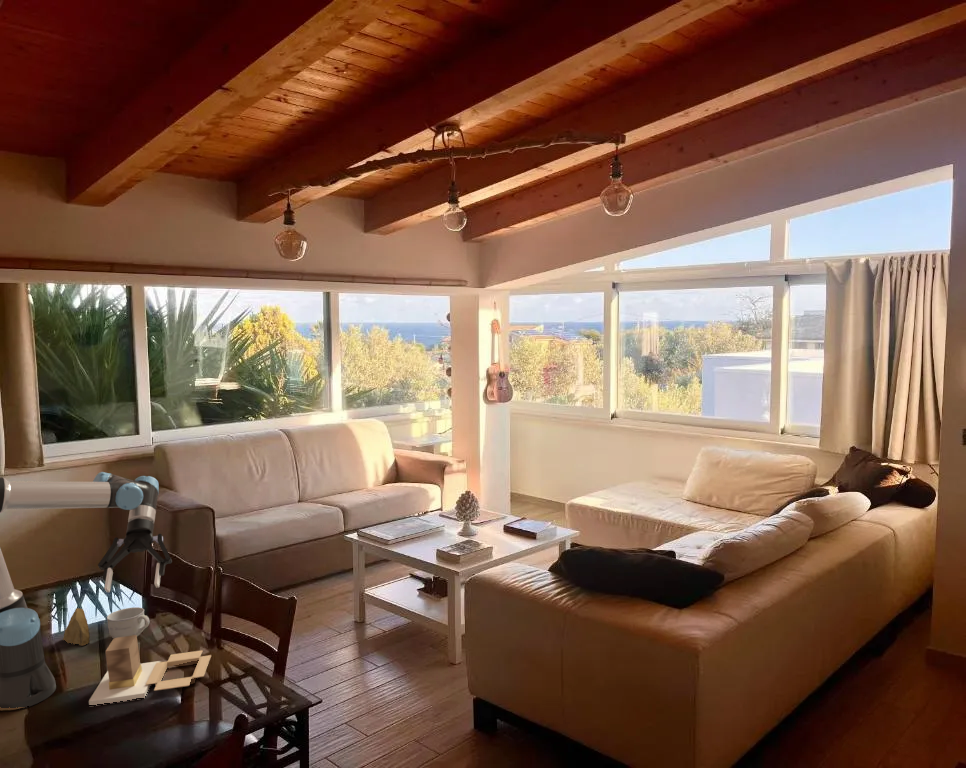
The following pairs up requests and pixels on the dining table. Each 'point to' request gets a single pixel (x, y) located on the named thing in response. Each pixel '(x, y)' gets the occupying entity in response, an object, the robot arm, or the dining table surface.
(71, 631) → the rock
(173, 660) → the carton
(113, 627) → the teacup
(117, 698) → the board
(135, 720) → the dining table surface
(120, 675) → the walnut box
